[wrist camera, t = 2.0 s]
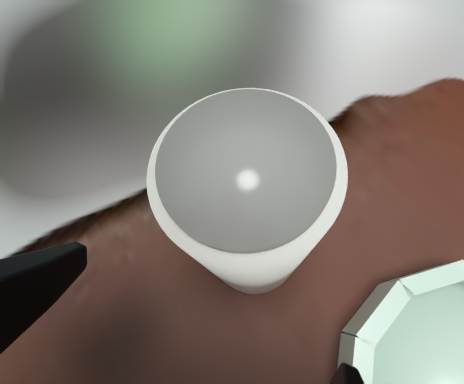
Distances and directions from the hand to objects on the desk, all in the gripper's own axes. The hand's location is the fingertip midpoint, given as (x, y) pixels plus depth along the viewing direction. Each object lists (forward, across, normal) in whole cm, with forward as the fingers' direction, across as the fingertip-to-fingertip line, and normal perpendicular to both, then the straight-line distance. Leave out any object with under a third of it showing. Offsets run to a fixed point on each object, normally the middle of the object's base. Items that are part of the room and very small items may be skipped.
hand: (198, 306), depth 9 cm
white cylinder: (+11, 0, +5) cm, 12 cm away
